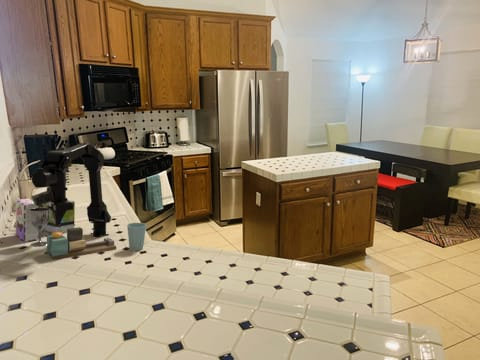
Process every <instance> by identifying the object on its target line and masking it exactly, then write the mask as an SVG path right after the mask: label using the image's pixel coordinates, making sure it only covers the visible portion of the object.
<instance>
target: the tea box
mask: <svg viewBox="0 0 480 360" xmlns="http://www.w3.org/2000/svg"><path fill="white" fill-rule="evenodd" d="M67 201H70V202H72V203H73V204H74V209H73V210H67V211H66V213H65V215H64V216H63V218H62V220H61V222H60V224H59V225H56V224H55V220H54V217H53V214H52V211H51V214H50V219H49V222H48V223H47V225H46V226H45V227H44V228H43V229H42V231H45V232H47V233H51V234H52V233H55V232H61V233H62V234H65V233H66V234H67V229H70V228H75V220H76V219H75V216H76V215H75V212H76V211H75V210H76V209H75V208H76V207H75V206H76V205H75V203H76V202H75V200H69V199H67ZM47 206H49V203H46V204H41V205H39V207H47ZM47 208H48V207H47Z"/></svg>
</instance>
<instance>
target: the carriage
mask: <svg viewBox="0 0 480 360" xmlns="http://www.w3.org/2000/svg"><path fill="white" fill-rule="evenodd" d="M83 229H84V228H82V227H79V226H77V227H74V228H70V229H67V232H66V238H67V239H68V251H74V250H80V249H85V247H86V244H87V240H86V239H84V238H83V237H84V235H83V233H84V231H83Z"/></svg>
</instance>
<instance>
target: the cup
mask: <svg viewBox="0 0 480 360" xmlns="http://www.w3.org/2000/svg"><path fill="white" fill-rule="evenodd" d="M126 226H127V235H128V236H127V237H128V248H129V250H130V251H142V250H143V249H144V245H145V237H146V230H147V229H146V228H147V224H146V223H144V222H130V223H128V224H127V225H126Z"/></svg>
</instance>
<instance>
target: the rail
mask: <svg viewBox="0 0 480 360" xmlns="http://www.w3.org/2000/svg"><path fill="white" fill-rule="evenodd" d="M46 242H47V245H46V250H45V251H46V254H47V255H49V256H50V258H51V259H53V260H54V259H56V260H61V259H65V258H67V259H68V258H72V257H78V256H84V255H89V254H95V253H102V252H107V251H113V250H117V245H115V240H113V239H112V238H110V237H105V238H103V240H101V241H94V242H88V243H87V242H86V247H85V249H80V250H74V251H68V239H67V236H66V237H65V236H64V235H63V234H62V237H61V238H52V234H48V235H46Z"/></svg>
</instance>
